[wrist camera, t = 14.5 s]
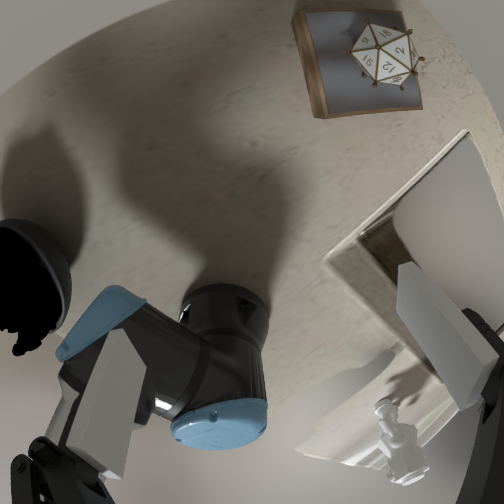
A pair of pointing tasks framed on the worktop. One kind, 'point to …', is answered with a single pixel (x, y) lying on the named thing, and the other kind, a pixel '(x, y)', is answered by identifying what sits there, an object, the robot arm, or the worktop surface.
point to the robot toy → (400, 445)
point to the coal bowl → (31, 283)
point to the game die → (385, 54)
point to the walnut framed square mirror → (347, 64)
